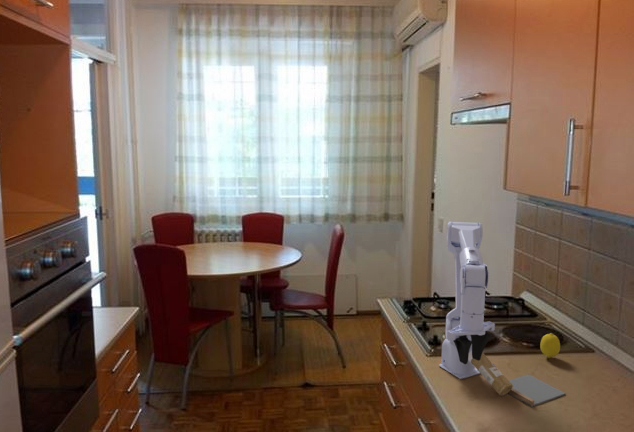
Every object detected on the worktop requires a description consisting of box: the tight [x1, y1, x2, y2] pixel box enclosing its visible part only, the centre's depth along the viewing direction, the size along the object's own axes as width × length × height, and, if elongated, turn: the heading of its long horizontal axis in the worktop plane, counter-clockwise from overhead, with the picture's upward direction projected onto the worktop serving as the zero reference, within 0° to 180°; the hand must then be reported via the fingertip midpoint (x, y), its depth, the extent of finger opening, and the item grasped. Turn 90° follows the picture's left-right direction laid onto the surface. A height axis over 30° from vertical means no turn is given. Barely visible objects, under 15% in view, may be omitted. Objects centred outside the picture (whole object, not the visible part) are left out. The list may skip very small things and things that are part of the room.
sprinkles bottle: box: [468, 351, 513, 397], centre depth 139 cm, size 5×5×14 cm
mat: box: [507, 374, 566, 408], centre depth 139 cm, size 12×13×2 cm
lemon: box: [539, 332, 561, 359], centre depth 157 cm, size 6×6×8 cm
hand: (469, 360), depth 133 cm, fingers open, 4 cm apart
